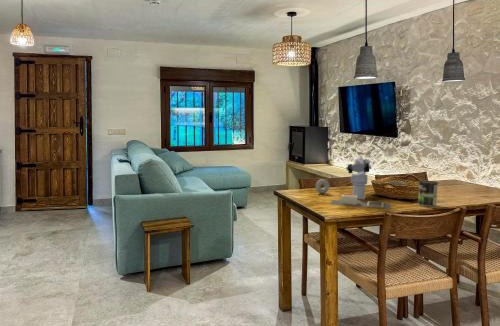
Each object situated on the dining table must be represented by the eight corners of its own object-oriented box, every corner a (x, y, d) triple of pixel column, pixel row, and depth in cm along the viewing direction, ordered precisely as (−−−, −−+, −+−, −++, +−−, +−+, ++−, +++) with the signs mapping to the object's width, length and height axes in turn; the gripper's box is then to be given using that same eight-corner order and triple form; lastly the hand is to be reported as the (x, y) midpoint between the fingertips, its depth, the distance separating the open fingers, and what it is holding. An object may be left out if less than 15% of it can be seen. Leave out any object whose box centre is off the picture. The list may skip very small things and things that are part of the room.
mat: (332, 200, 262) (332, 199, 262) (390, 204, 252) (390, 204, 252) (330, 205, 249) (330, 204, 249) (390, 209, 240) (390, 208, 240)
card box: (341, 203, 251) (341, 195, 251) (341, 201, 256) (342, 194, 256) (356, 204, 249) (356, 197, 248) (357, 203, 254) (357, 195, 253)
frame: (367, 202, 256) (367, 200, 256) (383, 203, 253) (383, 201, 253) (367, 206, 243) (367, 205, 243) (383, 208, 241) (383, 206, 241)
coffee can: (425, 207, 246) (426, 183, 245) (414, 203, 256) (415, 180, 254) (440, 206, 249) (441, 182, 247) (428, 202, 259) (430, 180, 257)
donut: (316, 194, 281) (317, 179, 280) (314, 193, 285) (314, 178, 283) (330, 193, 284) (330, 179, 283) (327, 192, 287) (328, 178, 286)
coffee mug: (407, 199, 269) (408, 183, 268) (393, 199, 267) (394, 184, 266) (395, 195, 282) (396, 180, 281) (381, 195, 280) (382, 180, 279)
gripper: (346, 160, 263) (344, 164, 251) (370, 159, 259) (369, 162, 246) (347, 171, 264) (345, 176, 251) (371, 170, 259) (370, 174, 247)
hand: (357, 170), depth 249 cm, fingers open, 7 cm apart
